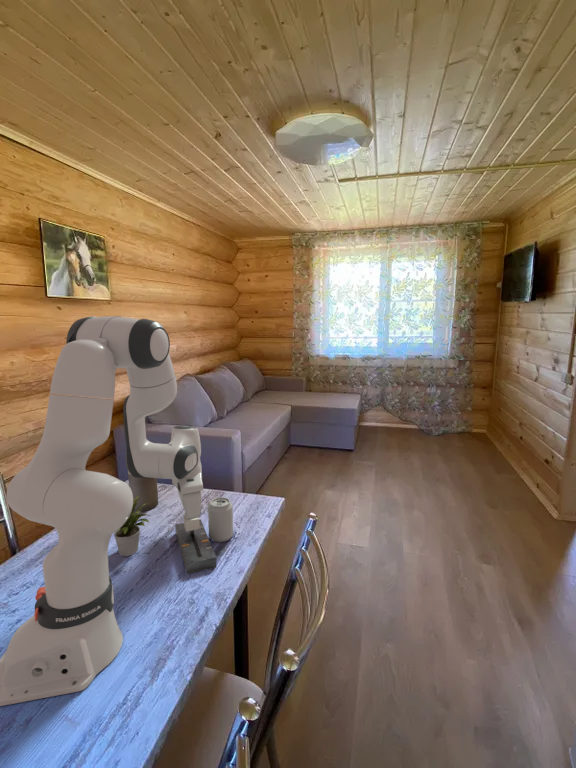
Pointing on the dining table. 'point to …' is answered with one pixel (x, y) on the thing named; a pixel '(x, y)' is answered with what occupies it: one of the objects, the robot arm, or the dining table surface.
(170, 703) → the dining table surface
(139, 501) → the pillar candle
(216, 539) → the can
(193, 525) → the fader knob
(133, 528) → the house plant
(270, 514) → the dining table surface
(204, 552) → the fader panel
